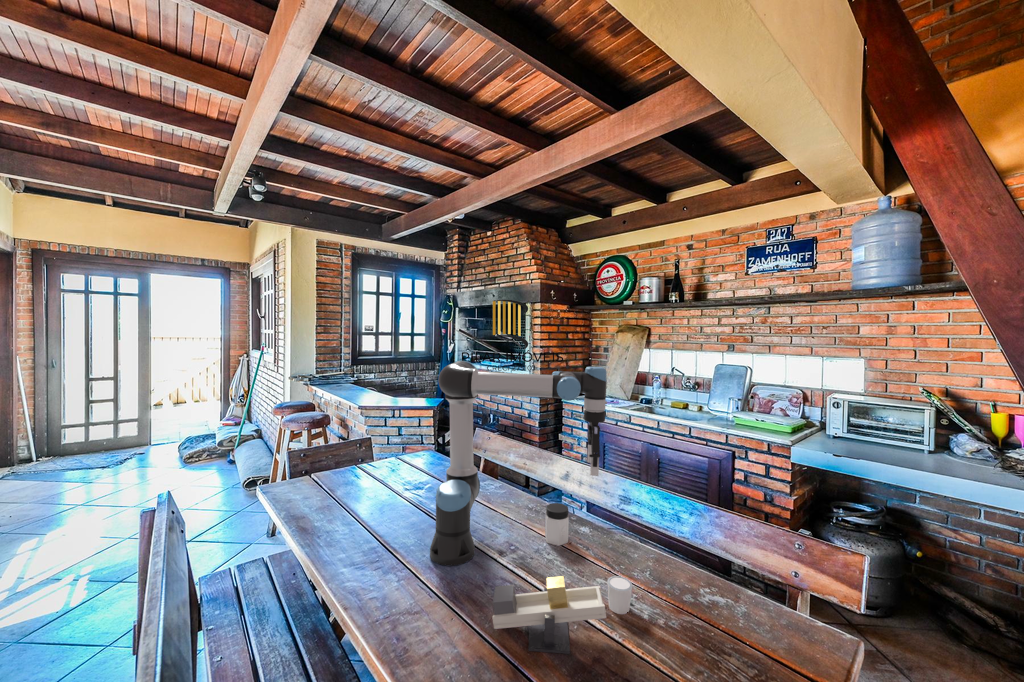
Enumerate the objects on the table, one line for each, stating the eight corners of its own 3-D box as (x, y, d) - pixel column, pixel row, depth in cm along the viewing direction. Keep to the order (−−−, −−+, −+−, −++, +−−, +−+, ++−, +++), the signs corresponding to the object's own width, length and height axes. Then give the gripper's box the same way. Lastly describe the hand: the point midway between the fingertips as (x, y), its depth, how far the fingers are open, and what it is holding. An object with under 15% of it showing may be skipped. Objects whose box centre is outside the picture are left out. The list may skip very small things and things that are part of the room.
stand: (528, 650, 99) (529, 620, 99) (529, 610, 113) (530, 584, 113) (570, 653, 99) (570, 623, 99) (566, 613, 113) (566, 586, 113)
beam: (493, 630, 103) (490, 606, 102) (497, 606, 111) (494, 583, 111) (606, 619, 101) (603, 594, 100) (601, 595, 109) (598, 572, 109)
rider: (550, 613, 104) (546, 588, 103) (550, 601, 108) (546, 577, 108) (568, 612, 103) (564, 586, 103) (567, 600, 108) (563, 575, 108)
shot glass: (603, 599, 119) (604, 575, 119) (626, 598, 120) (627, 575, 119) (610, 616, 112) (611, 591, 112) (635, 615, 113) (636, 590, 112)
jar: (554, 548, 146) (555, 515, 145) (540, 538, 153) (540, 506, 152) (573, 541, 151) (574, 509, 150) (558, 531, 158) (559, 501, 157)
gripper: (609, 418, 135) (607, 482, 136) (601, 404, 160) (599, 458, 160) (586, 417, 136) (584, 480, 136) (582, 403, 160) (580, 457, 161)
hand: (592, 468), depth 148 cm, fingers open, 13 cm apart
